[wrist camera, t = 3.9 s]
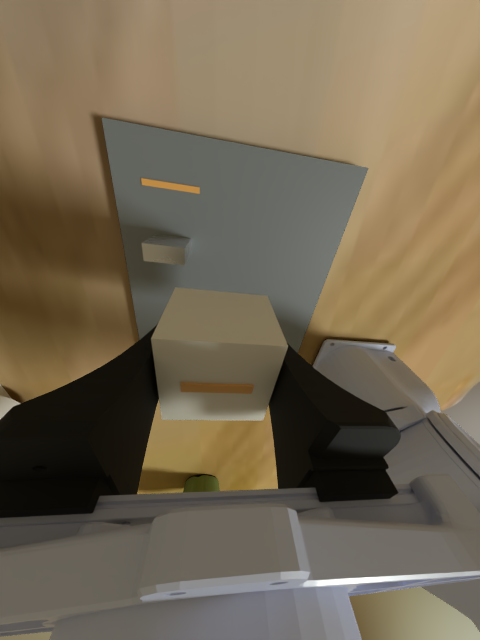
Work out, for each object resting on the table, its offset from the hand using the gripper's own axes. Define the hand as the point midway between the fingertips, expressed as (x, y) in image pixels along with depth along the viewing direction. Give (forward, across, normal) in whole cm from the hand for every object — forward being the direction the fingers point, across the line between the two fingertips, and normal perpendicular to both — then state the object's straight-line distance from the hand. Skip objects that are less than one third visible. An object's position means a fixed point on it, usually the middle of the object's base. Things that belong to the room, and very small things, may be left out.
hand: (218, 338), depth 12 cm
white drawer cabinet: (+1, 0, 0) cm, 1 cm away
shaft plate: (+9, -1, 0) cm, 9 cm away
